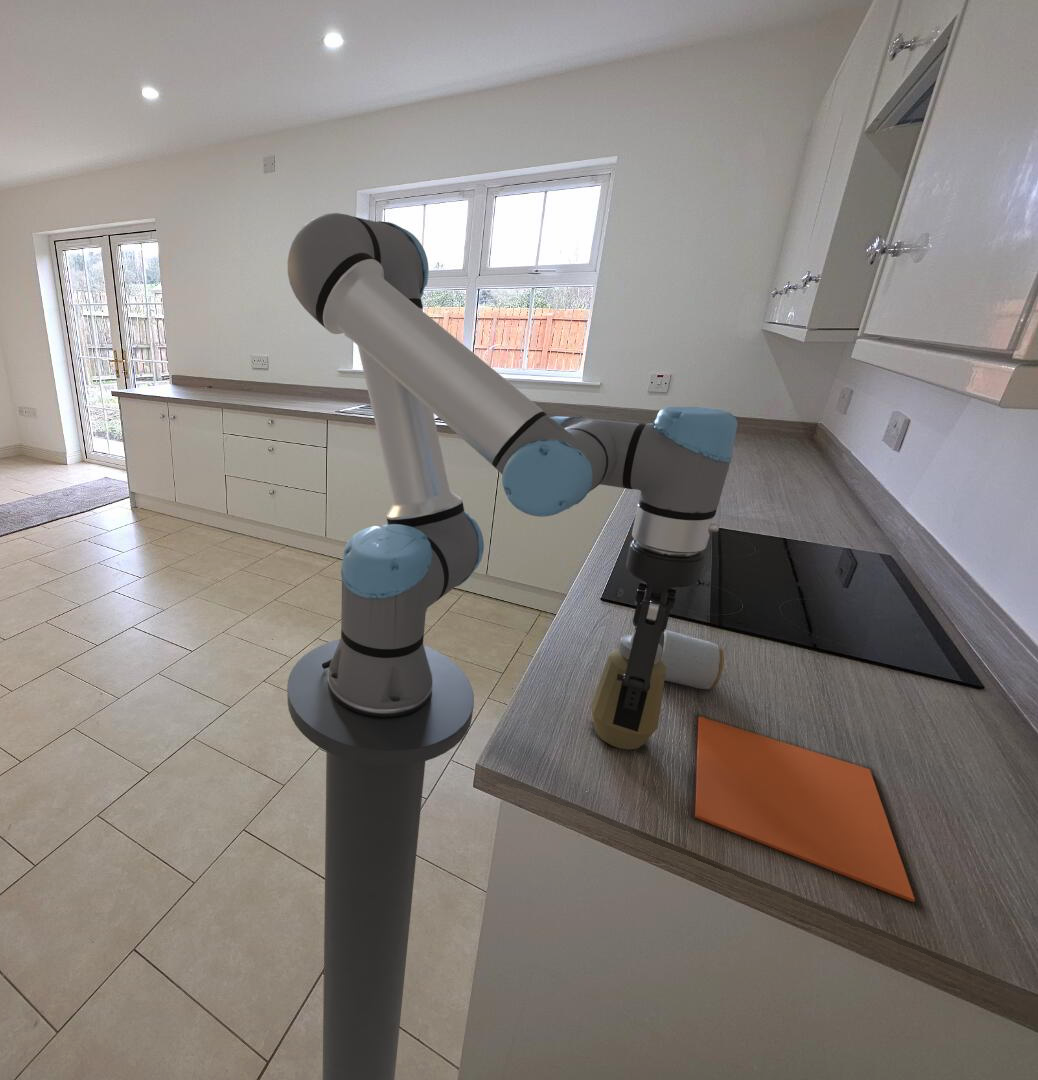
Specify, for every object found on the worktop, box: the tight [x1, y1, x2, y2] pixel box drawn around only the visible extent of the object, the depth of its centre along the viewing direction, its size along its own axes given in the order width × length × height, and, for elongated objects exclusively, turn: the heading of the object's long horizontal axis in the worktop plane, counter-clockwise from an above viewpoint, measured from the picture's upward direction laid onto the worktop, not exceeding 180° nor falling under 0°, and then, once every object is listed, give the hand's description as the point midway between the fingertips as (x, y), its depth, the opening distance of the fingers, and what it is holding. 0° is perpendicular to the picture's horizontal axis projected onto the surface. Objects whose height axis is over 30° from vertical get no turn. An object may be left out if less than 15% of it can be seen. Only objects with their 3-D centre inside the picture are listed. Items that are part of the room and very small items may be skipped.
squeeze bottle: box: [590, 629, 666, 751], centre depth 72 cm, size 8×8×18 cm
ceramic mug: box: [659, 629, 725, 690], centre depth 87 cm, size 11×8×8 cm
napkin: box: [694, 715, 916, 903], centre depth 67 cm, size 18×20×1 cm
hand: (631, 696), depth 73 cm, fingers open, 13 cm apart
